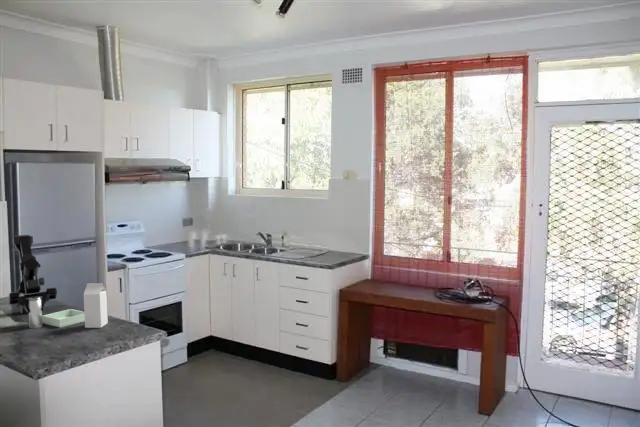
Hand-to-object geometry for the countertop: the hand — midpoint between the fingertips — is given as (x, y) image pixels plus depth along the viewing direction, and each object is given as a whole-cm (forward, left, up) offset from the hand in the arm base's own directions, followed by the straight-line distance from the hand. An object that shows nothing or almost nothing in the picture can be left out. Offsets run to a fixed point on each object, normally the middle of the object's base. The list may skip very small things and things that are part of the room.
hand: (35, 311), depth 236 cm
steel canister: (-1, 0, -7) cm, 7 cm away
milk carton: (+11, +24, -7) cm, 27 cm away
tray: (-3, +12, -7) cm, 14 cm away
